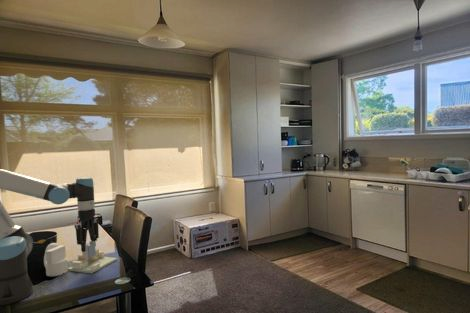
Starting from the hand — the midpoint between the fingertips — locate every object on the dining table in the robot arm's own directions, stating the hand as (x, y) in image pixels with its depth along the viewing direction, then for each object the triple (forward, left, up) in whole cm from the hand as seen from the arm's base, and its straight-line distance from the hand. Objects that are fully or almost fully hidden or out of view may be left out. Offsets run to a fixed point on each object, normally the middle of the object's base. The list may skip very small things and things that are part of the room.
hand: (89, 255), depth 148 cm
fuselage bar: (+7, +7, -6) cm, 11 cm away
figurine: (0, +24, -8) cm, 26 cm away
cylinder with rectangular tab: (-6, +14, -8) cm, 17 cm away
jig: (+6, +3, -7) cm, 10 cm away
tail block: (0, 0, 0) cm, 0 cm away
